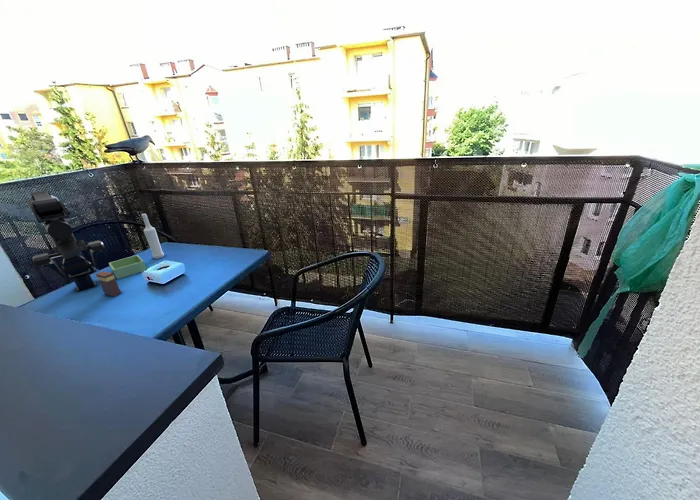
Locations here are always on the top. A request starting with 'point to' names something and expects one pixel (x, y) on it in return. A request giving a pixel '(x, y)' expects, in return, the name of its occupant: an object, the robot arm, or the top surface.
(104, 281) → the chocolate bar
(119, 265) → the green open tray
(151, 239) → the bottle
